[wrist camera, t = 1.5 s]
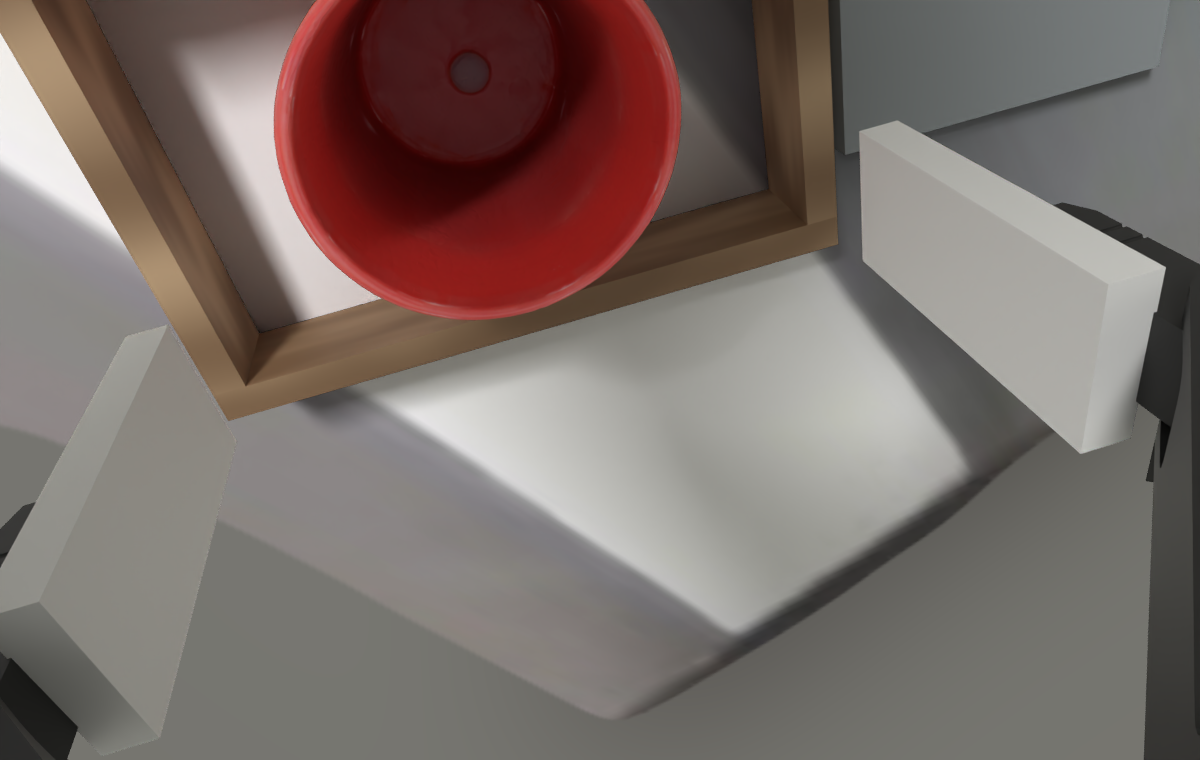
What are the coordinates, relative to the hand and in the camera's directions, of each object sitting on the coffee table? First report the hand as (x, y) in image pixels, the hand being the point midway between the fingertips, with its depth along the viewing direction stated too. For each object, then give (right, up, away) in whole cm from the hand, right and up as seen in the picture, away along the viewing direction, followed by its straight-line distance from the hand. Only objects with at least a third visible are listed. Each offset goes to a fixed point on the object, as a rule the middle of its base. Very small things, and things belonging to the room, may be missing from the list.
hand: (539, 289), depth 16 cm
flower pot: (-4, +10, +15) cm, 18 cm away
